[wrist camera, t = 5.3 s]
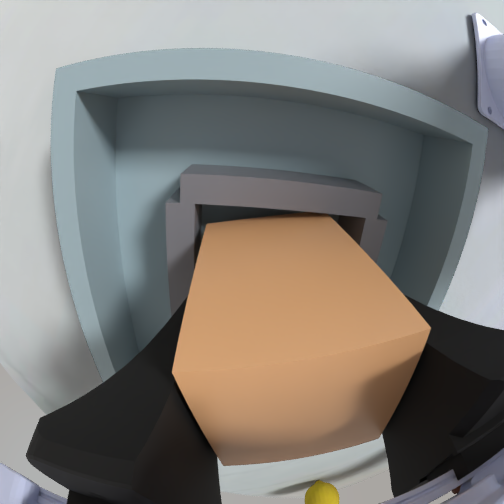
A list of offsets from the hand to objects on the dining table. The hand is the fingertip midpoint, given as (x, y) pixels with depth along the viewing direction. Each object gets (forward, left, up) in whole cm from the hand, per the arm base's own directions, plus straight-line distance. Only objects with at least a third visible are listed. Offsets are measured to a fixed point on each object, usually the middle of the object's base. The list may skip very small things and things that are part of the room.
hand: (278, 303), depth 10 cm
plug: (0, 0, -2) cm, 2 cm away
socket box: (0, 0, -4) cm, 4 cm away
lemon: (-14, +41, -5) cm, 44 cm away
